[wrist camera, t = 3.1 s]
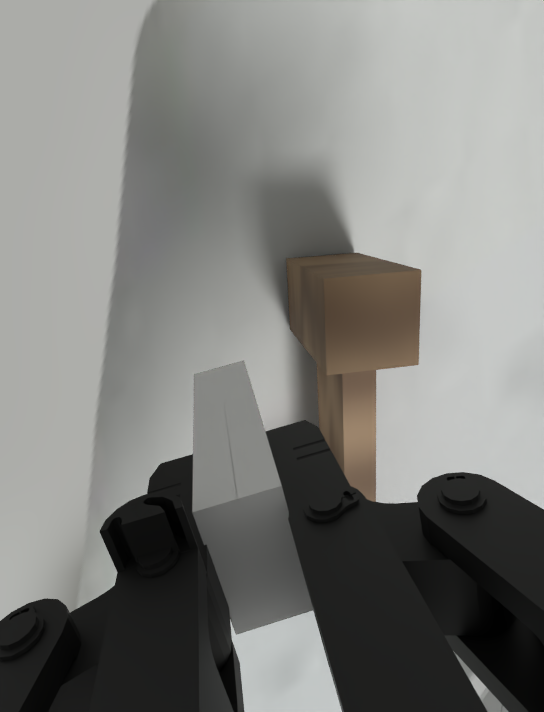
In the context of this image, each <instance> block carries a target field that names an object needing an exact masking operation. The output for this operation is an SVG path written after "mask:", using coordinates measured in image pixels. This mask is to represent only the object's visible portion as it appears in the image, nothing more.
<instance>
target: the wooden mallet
mask: <svg viewBox="0 0 544 712" xmlns="http://www.w3.org/2000/svg"><path fill="white" fill-rule="evenodd" d="M286 263H287V282H288V300H289V319H290V330H291V331H292V332H293V334H294V335H295V336H296V337H297V339H298V340H299V341H300V342H301V344H302V345H303V346H304V348H305V349H306V350H307V351H308V353H309V354H310V355H311V356H312V358H313V359H314V360H315V361H316V363H317V384H318V411H319V429H320V431H321V433H322V435H323V436H324V438H325V441H326V442H327V444H328V446H329V447H330V450H331V451H332V453H333V455H334V457H335V458H336V460H337V462H338V464H339V466H340V468H341V469H342V471H343V473H344V475H345V477H346V479H347V480H348V482H349V484H350V486H351V487H354V488H356V489H358V490H359V491H360V492H361V493H362V494H363V495H364V496H365V497H366V499H368V500H370V501H373V502H376V370H378V369H387V368H395V367H404V366H413V365H418V361H419V329H420V296H421V270H420V269H416V268H412V267H408V266H405V265H401V264H397V263H393V262H390V261H386V260H382V259H378V258H375V257H371V256H367V255H363V254H360V253H348V254H335V255H323V256H311V257H299V258H287V259H286Z"/></svg>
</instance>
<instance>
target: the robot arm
mask: <svg viewBox="0 0 544 712" xmlns="http://www.w3.org/2000/svg"><path fill="white" fill-rule="evenodd" d="M147 493H148V494H146V495H143V496H141V497H138V498H136V499H133V500H131V501H129V502H128V503H126V504H124V505H123V506H121V507H120V508H118V509H117V510H116V511H115V512H114V513H113V514H111V515H110V516H109V517H108V518H107V519H106V520H105V522H104V524H103V526H102V528H101V530H100V534H101V536H102V538H103V540H104V543H105V545H106V547H107V549H108V552H109V554H110V556H111V558H112V561H113V563H114V565H115V567H116V570H117V572H118V573H117V578H116V583H115V586H113V587H112V588H111V589H110V590H108V591H107V592H105V593H104V594H102V595H101V596H99V597H98V598H96V599H94V600H92V601H90V602H89V603H87V604H85V605H83V606H81V607H80V608H78V609H76V610H74V611H72V612H71V613H69V611H68V609H67V607H66V605H64V604H63V603H62V602H61V601H59V600H58V599H42V600H38V601H35V602H31V603H28V604H26V605H25V606H22V607H21V608H18V609H17V610H15V611H13V612H11V613H10V614H9V615H7V616H6V617H5V618H4V619H2V620H1V621H0V712H244V704H243V694H242V684H241V673H240V663H239V660H238V657H237V654H236V651H235V648H234V645H233V642H232V638H231V626H230V619H231V622H232V625H233V628H234V631H235V633H236V634H240V633H243V632H246V631H249V630H252V629H255V628H258V627H262V626H265V625H268V624H271V623H274V622H277V621H280V620H284V619H287V618H290V617H293V616H296V615H299V614H302V613H306V612H309V611H312V610H314V613H315V617H316V621H317V624H318V628H319V631H320V635H321V639H322V642H323V646H324V650H325V653H326V657H327V661H328V664H329V667H330V670H331V674H332V677H333V681H334V684H335V688H336V691H337V695H338V698H339V702H340V706H341V709H342V712H488V711H487V710H486V708H485V706H484V704H483V703H482V701H481V699H480V697H479V696H478V694H477V692H476V690H475V689H474V687H473V685H472V683H471V682H470V680H469V678H468V676H467V675H466V673H465V671H464V669H463V668H462V666H461V664H460V662H459V661H458V659H457V657H456V655H455V654H454V652H455V653H456V654H457V655H458V656H459V658H460V659H461V660H462V661H463V662H464V663H465V664H466V665H467V666H468V667H469V669H470V670H471V671H472V672H473V673H474V674H475V675H476V676H477V677H478V679H479V680H480V681H481V682H482V683H483V684H484V685H485V686H486V687H487V688H488V690H489V691H490V692H491V693H492V694H493V695H494V696H495V697H496V698H497V699H498V701H499V702H500V703H501V704H502V705H503V706H504V707H505V708H506V709H507V710H508V712H544V510H543V509H542V508H540V507H538V506H537V505H535V504H533V503H531V502H530V501H528V500H526V499H525V498H523V497H521V496H520V495H518V494H516V493H514V492H513V491H511V490H509V489H508V488H506V487H504V486H503V485H501V484H499V483H497V482H496V481H494V480H491V479H489V478H487V477H484V476H482V475H478V474H472V473H465V472H460V473H447V474H444V475H441V476H438V477H435V478H432V479H431V480H429V481H428V482H427V483H425V484H424V485H423V486H422V487H421V489H420V491H419V493H418V495H417V499H418V502H413V503H398V504H387V503H379V502H373V501H370V500H368V499H366V497H365V496H364V495H363V494H362V493H361V492H360V491H359V490H358V489H356V488H354V487H351V486H350V484H349V482H348V480H347V479H346V477H345V475H344V473H343V471H342V469H341V468H340V466H339V464H338V462H337V460H336V458H335V457H334V455H333V453H332V451H331V450H330V447H329V446H328V444H327V442H326V441H325V438H324V436H323V435H322V433H321V431H320V429H319V427H317V426H315V425H313V424H311V423H309V422H307V421H306V420H304V421H300V422H297V423H293V424H290V425H287V426H283V427H280V428H276V429H273V430H269V431H266V432H265V429H264V426H263V422H262V419H261V416H260V412H259V409H258V406H257V403H256V399H255V396H254V393H253V389H252V386H251V383H250V379H249V376H248V373H247V369H246V366H245V363H244V361H240V362H237V363H233V364H229V365H226V366H222V367H219V368H215V369H211V370H208V371H204V372H201V373H197V374H194V420H193V454H192V455H189V456H185V457H182V458H178V459H175V460H172V461H168V462H165V463H161V464H160V465H159V466H158V468H157V469H156V471H155V472H154V473H153V475H152V476H151V477H150V480H149V486H148V492H147ZM453 651H454V652H453Z"/></svg>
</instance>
